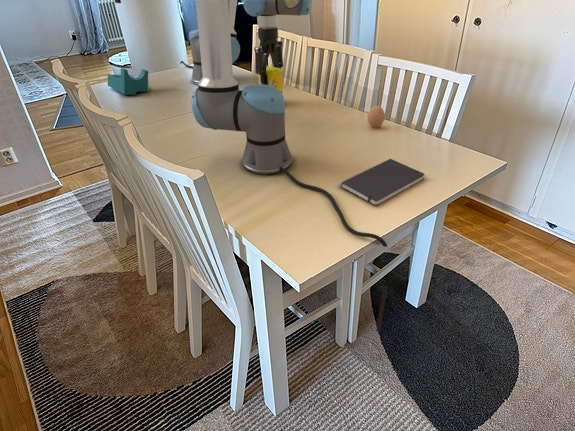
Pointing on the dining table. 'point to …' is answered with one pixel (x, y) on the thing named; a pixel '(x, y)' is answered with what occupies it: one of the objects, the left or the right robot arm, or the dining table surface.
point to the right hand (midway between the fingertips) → (270, 88)
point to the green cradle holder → (129, 82)
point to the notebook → (382, 181)
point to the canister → (274, 77)
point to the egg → (376, 116)
